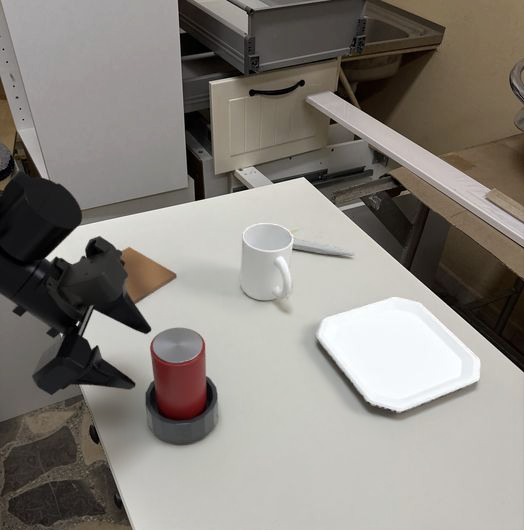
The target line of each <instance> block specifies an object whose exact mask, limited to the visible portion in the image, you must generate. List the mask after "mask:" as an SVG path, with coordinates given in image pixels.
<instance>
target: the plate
mask: <svg viewBox="0 0 524 530" xmlns="http://www.w3.org/2000/svg"><path fill="white" fill-rule="evenodd" d="M315 337H316V340H317V341H318V343H319V344H320V345H321V346H322V348H323V350H325V351H326V353H327V354H328V356H330V358H331V359H332V360H333V362H334V363H335V364H336V365H337V367H338V368H339V369H340V370H341V372H342V373H343V374H344V375H345V376H346V378H347V380H348V381H349V382H350V383H351V384H352V385H353V387H354V388H355V389H356V391H357V392H358V393H359V394H360V395H361V397H362V398H363V399H364V401H365V402H366V403H367V404H368V405H370V406H373V407H376V408H380V409H384V410H387V411H390V412H393V413H397V414H398V413H399V414H401V413H405V412H408V411H410V410H412V409H415V408H417V407H419V406H422V405H424V404H427V403H429V402H432V401H434V400H436V399H440V398H442V397H444V396H447V395H449V394H452V393H454V392H457V391H460V390H462V389H464V388H467V387H469V386H471V385H474V384H476V383H478V382H479V381H480V379H481V363H482V362H481V360H480V358H479V357H478V356H477V355H476V354H475V353H474V352H473V351H472V350H471V349H470V348H469V347H468V346H466V345H465V343H464V342H462V341H461V340H460V339H459V338H458V337H457V336H456V334H454V333H453V332H452V331H451V330H450V329H449V328H448V327H446V325H445V324H444V323H443V322H441V321H440V320H439V319H438V318H437V317H436V316H435V315H434V314H433V313H432V312H431V311H430V310H429V309H428V308H427V307H426V306H424V304H423V303H421V302H419V301H417V300H416V301H415V300H412V299H407V298H404V297H399V296H392V297H389V298H385V299H382V300H378V301H375V302H373V303H369V304H365V305H363V306H359V307H356V308H353V309H349V310H346V311H343V312H339V313H336V314H333V315H329V316H326V317H324V318H322V319H321V321H320V324H319V326H318V329H317V331H316V334H315Z"/></svg>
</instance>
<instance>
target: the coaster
mask: <svg viewBox="0 0 524 530" xmlns="http://www.w3.org/2000/svg"><path fill="white" fill-rule="evenodd" d="M120 251H121V252H122V257H121V259H122V260H123V261H124V262H125V265H124V269H125V270H126V271H127V273H128V277H127V279H126V289H127V292H128V294H129V296H130V297H131V299H132V301H133V302H134V304H135V305H136V304H137V303H139V302H140V301H141V300H143V299H145V298H146V297H149V296H150V295H151V294H153V293H154V292H156V291H157V290H159V289H161V288H162V287H164V286H165V285H167V284H169V283H170V282H172V281H173V280H175V279H176V278H177V273H176V272H174V271H172V270H170V269H169V268H167V267H166V266H163V265H162V264H160V263H159V262H157V261H155V260H154V259H151V258H149V257H147V256H146V255H144V254H142V252H139V251H137V250H135V249H134V248H133V247H131V246H128V247H126V248H124V249H123V250H120Z"/></svg>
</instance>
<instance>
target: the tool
mask: <svg viewBox="0 0 524 530" xmlns="http://www.w3.org/2000/svg"><path fill="white" fill-rule="evenodd" d="M292 249H295V250H299V251H305V252H309V253H310V252H311V253H316V254H324V255H335V256H346V257H348V256H350V257H353V256H356V254H355V252H353V251H350V250H347V249H344V248H343V249H342V248H339V247H336V246H332V245H329V244H325V243H319V242H315V241H309V240H304V239H298V238H293V247H292Z"/></svg>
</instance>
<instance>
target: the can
mask: <svg viewBox="0 0 524 530" xmlns="http://www.w3.org/2000/svg"><path fill="white" fill-rule="evenodd" d="M149 351H150V359H151V368H152V376H153V380H154V383H155V391H156V399H157V407H158V414H159V415H161V416H162V417H164V418H166V419H170V420H175V421H182V420H190V419H193V418H195V417H197V416H200V415H202V414H203V413H204V412H205V411H206V410H207V400H206V376H207V364H206V363H207V362H206V361H207V359H206V357H207V356H206V342H205V339H204V338H203V336H202V335H201V334H200V333H199V332H197V331H195V330H193V329H190V328H187V327H171V328H168V329H164V330H163V331H160V332H159V333H157V334H156V335H155V336H154V337H153V338H152V339H151V342H150V346H149Z"/></svg>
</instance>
